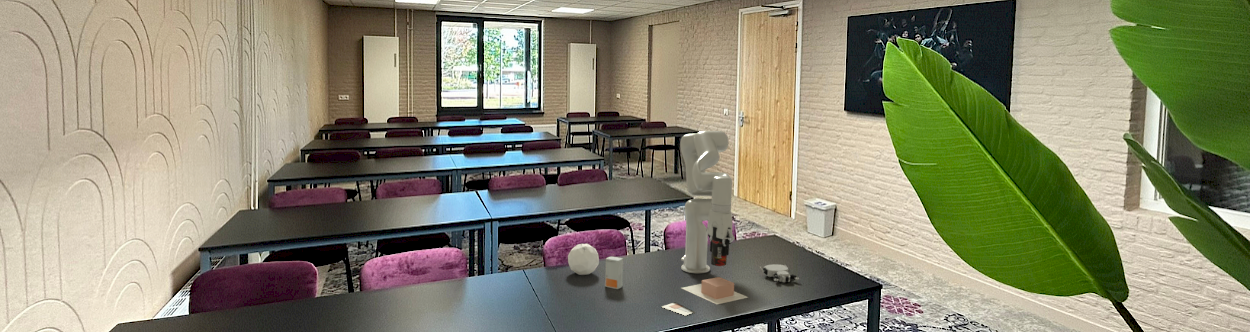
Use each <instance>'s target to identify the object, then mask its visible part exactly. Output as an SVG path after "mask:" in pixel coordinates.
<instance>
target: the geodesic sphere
mask: <svg viewBox="0 0 1250 332" xmlns="http://www.w3.org/2000/svg"><path fill="white" fill-rule="evenodd" d="M567 262H568V266H569V268H570V270H571V271H572V272H574V273H575V274H577V275H579V276H585V275H591V273H593V272H595V271H596V268H597V267H598V266H599V264H600V259H599V253H598V251H597V249H596V248H595V247H594V246H592V245H590V244H589V243H579V244H576V245H575V246H574V247H573V248H572V249H571V250H570V251H569V253H568V255H567Z"/></svg>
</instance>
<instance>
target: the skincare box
mask: <svg viewBox="0 0 1250 332" xmlns="http://www.w3.org/2000/svg"><path fill="white" fill-rule="evenodd" d="M623 270H624V258H623V257H618V256H608V257H606V258H605V277H604V281H605V282H604V286H605V287H607V288H610V289H614V290H619V289H621V288H623V279H624V278H623V277H624V273H623V272H624V271H623Z"/></svg>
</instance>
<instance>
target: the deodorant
mask: <svg viewBox="0 0 1250 332" xmlns="http://www.w3.org/2000/svg"><path fill="white" fill-rule="evenodd" d="M716 230H717V228H716V227H713V236H712V252H710V253H711V256H710V257H711V258H710V264H711V265H712V266H716V267H724V266H727V260H728V259H727V256H728V255H726V256H722V255H721V251H722V246H723V243H722V239H719V238H717V237H716ZM726 237H727V236H726ZM726 241H727V240H726V239H725V242H726Z"/></svg>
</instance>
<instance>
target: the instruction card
mask: <svg viewBox="0 0 1250 332" xmlns="http://www.w3.org/2000/svg"><path fill="white" fill-rule="evenodd" d="M661 307H662V309H664V308H665V309H664V310H667V311H669V310H671V311H670V312H672V311H673V313H675V312H676V313H675V314H677V313H679V314H678V315H680V314H682V315H681V316H683V315H684V316H683V317H687V315H688V316H690V315H689V314H691V315H693V314H696V313H695V312H696V311H694V310H693V309H689V308H688V307H686V306H684V305H682V304H680V303H678V302H676V301H675V302H672V303H669V304H665V305H662V306H661ZM692 313H693V314H692Z"/></svg>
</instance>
